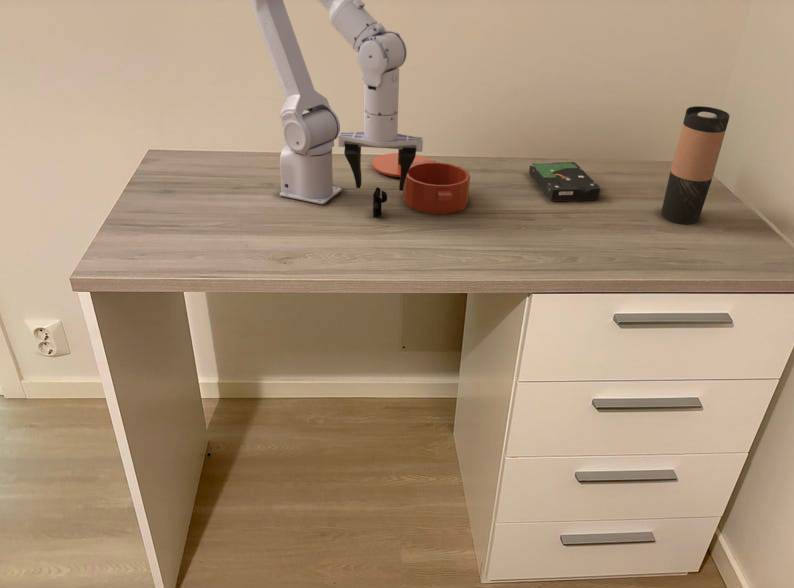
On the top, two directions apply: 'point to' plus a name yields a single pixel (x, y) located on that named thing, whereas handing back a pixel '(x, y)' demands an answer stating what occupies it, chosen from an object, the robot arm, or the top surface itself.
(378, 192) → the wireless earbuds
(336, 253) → the top surface
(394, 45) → the robot arm
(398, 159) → the lid
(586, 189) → the disk drive
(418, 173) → the pan
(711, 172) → the travel mug
